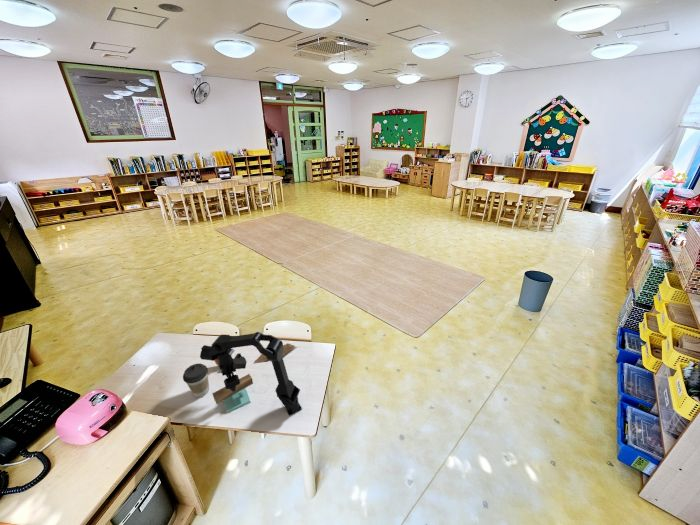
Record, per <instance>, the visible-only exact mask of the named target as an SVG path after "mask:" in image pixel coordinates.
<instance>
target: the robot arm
mask: <svg viewBox="0 0 700 525" xmlns="http://www.w3.org/2000/svg"><path fill="white" fill-rule="evenodd" d="M261 341H263V342H269V343H268V344H267V346H266V347H264V346H263V344H262V343H261ZM283 345H284V343H283V341H282V340H281V339H279V338H277V337H276V336H274V335H272V334H264V333H263V332H260V331H256V332H254V333H247V334H242V335H241V334H240V335H233V336H232V335H230V334H219V336H218V337H217V338H216V339H215V340H214V341H213V342H212V344H211V345H207V344H204V345H202V346H201V347H200V349H201V350H200V355H199V357H200V360H204V361H210V362H211V361H212V362H213V361H214V360H216V359H217V358H218V364H219V367H218V368H219V370H220V372H221V374H222V377H223V376H225V377H226V378H224V380H223V383H224V387H226V389H230V390H231V391H233V392H234V391H235V390H236V385H239V384H240V380H239V379H240V378H239V375H238V374H234V373H235V372H237V370H241V369H243V370H244V369H246V366H247V362H248V361H247V359H246V357H244V356H243V355H242V354H241V352H240V353H237V354H236V355H235V356H234V358H233V356H232V355H233V353H234V352H235V348H243V347H249V346H253V347H255V348H256V349H257V351H258V352H259V354H260V355H261V354H263V355H265V356H266V357H267V359H268V361H270V362H271V363H272V366H273V370H274V371H273V372H274V374H275V377H276V380H277V383H278V384H277V385H276V388H275V393H276V397H277V398H278V399H279V400H280V402H281V403H282V405H283V406H284V408H285V409H286V412H287V414H288V416H289V417H290V416H292V415H294V414H295V413H298V412H300V411H302V410H303V408H302V406H301V404H300V403H299V397H298V396H299V393H300V391H301V389H300V388H299V387H297V386H296V385H295V384H294V382H293V381H292V380H290V379H289V375H288V373H287V369H286V365H285V362H284V357H282V354H283ZM214 362H215V361H214Z"/></svg>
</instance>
